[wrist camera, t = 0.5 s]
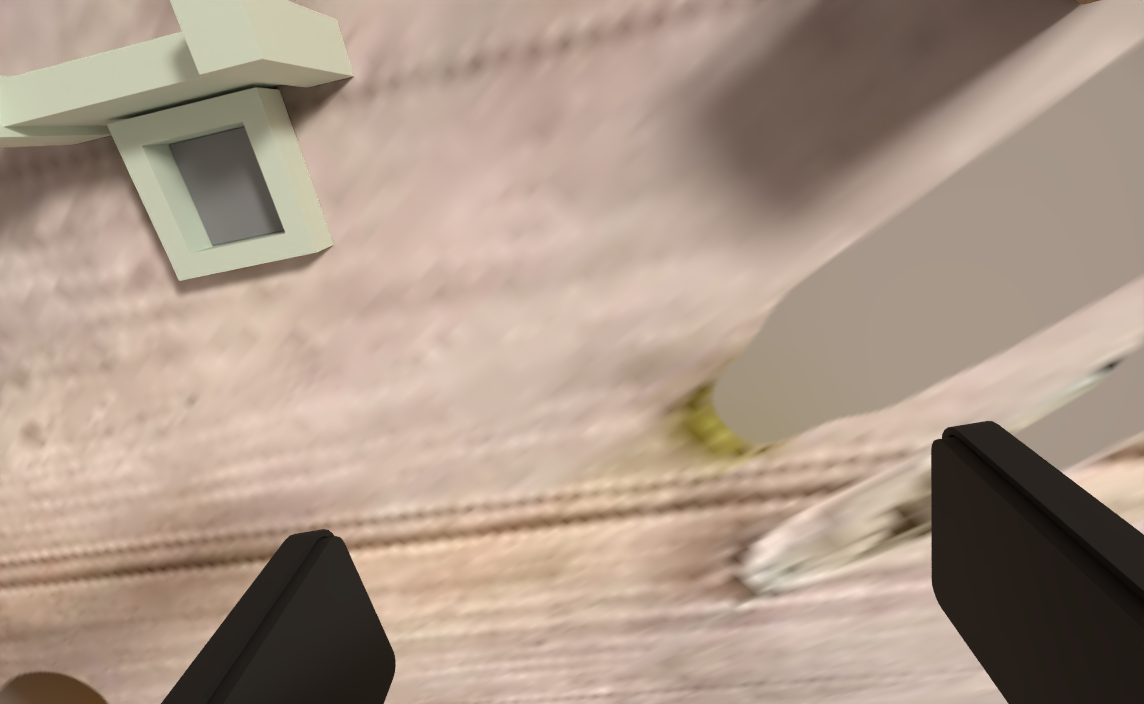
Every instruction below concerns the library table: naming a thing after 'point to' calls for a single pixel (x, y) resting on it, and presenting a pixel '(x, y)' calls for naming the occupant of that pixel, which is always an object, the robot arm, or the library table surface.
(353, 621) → the robot arm
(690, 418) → the library table surface
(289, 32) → the grey holder stand
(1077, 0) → the wooden block
